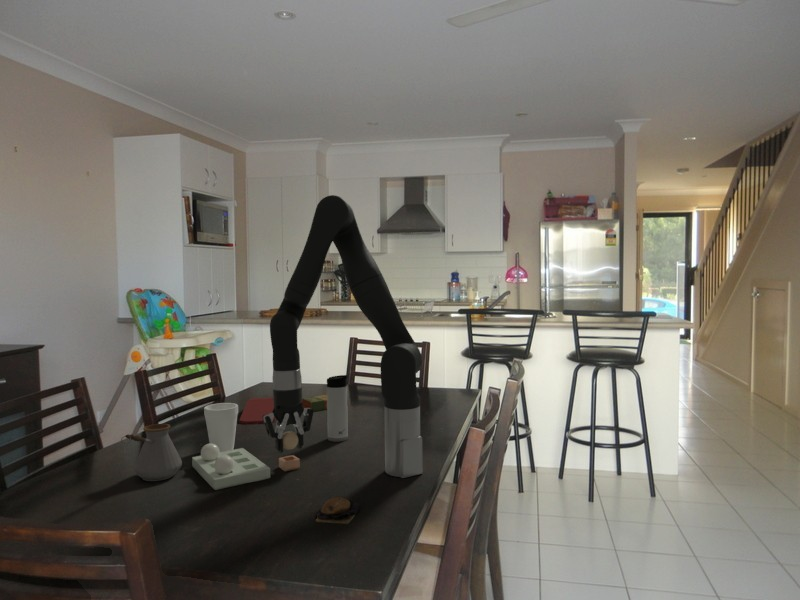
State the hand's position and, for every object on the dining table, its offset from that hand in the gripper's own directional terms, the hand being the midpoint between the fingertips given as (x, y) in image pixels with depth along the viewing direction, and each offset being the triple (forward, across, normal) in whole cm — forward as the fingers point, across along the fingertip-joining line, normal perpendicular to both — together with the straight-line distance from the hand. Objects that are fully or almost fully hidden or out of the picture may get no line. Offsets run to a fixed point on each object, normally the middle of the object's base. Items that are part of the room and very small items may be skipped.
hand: (289, 449), depth 156 cm
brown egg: (0, 0, 0) cm, 0 cm away
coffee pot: (+5, -33, +11) cm, 35 cm away
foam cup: (+5, -10, +27) cm, 29 cm away
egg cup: (+5, 0, +1) cm, 5 cm away
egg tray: (+5, -14, +7) cm, 16 cm away
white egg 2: (+3, -17, +1) cm, 18 cm away
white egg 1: (+3, -17, +13) cm, 22 cm away
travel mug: (+5, +23, +16) cm, 29 cm away
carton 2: (+5, +16, +61) cm, 63 cm away
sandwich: (+6, -3, -33) cm, 33 cm away
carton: (+5, +40, +58) cm, 71 cm away
